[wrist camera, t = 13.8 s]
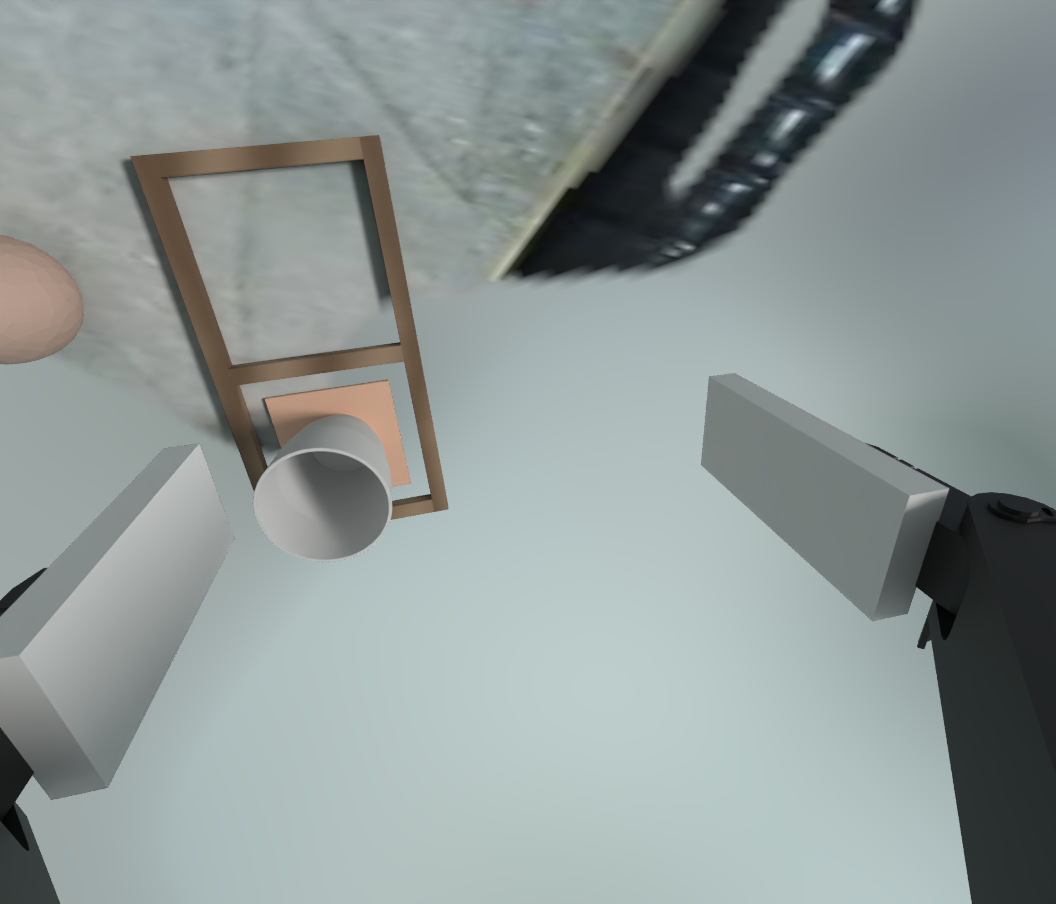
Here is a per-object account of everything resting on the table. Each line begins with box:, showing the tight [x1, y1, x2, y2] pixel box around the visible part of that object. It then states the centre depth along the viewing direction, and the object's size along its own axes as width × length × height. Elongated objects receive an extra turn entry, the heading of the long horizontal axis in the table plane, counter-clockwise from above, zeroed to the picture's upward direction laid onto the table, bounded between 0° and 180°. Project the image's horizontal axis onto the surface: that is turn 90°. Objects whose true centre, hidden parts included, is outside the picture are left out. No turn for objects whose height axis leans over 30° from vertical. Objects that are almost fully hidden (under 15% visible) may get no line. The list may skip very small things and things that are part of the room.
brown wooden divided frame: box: [130, 135, 448, 520], centre depth 39 cm, size 14×28×1 cm, turn 6°
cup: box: [253, 414, 392, 562], centre depth 37 cm, size 8×8×10 cm
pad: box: [265, 380, 411, 487], centre depth 42 cm, size 9×9×1 cm
